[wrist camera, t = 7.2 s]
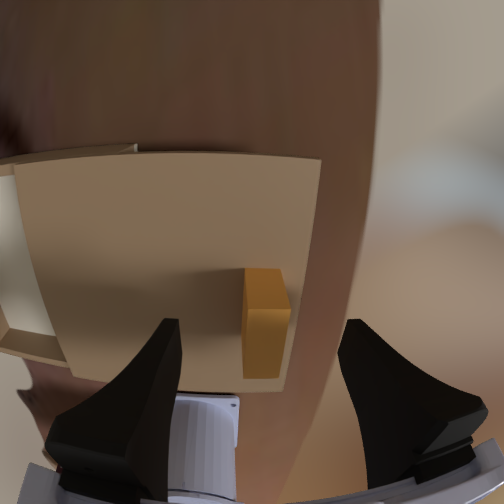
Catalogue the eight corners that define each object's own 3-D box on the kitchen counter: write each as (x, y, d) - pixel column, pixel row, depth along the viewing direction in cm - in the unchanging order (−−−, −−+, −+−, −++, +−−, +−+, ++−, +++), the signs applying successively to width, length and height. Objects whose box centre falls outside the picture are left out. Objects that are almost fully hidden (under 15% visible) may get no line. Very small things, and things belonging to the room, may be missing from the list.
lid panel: (281, 384, 19) (288, 430, 15) (76, 370, 18) (60, 410, 14) (317, 157, 12) (346, 177, 9) (20, 162, 11) (-27, 183, 8)
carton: (158, 348, 21) (150, 379, 18) (10, 327, 20) (-5, 350, 17) (137, 143, 14) (117, 152, 12) (-34, 165, 13) (-62, 178, 11)
